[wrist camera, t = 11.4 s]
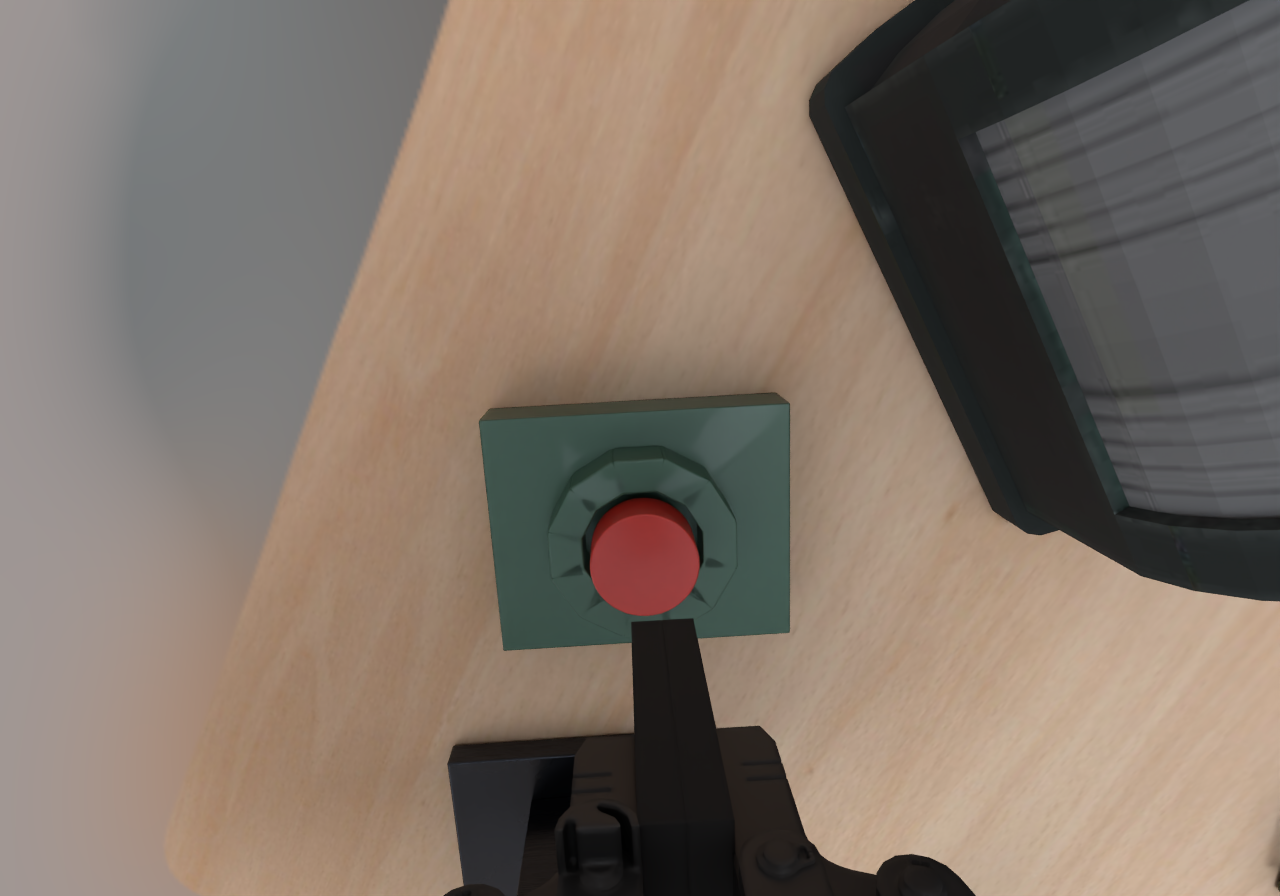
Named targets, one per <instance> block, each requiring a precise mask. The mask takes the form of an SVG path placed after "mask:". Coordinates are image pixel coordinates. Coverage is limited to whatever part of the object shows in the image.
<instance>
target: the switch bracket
mask: <svg viewBox="0 0 1280 896" xmlns="http://www.w3.org/2000/svg"><path fill="white" fill-rule="evenodd" d="M629 735H635V734H625V735H610V736H595V737H579V738H564V739H549V740H534V741H519V742H503V743H488V744H473V745H458V746H453V749H452V752H451V755H450V758H449V761H448V771H449V779H450V786H451V794H452V801H453V808H454V816H455V823H456V831H457V838H458V846H459V853H460V861H461V868H462V876H463V883H464V886H465V885H468V884H486V885H489V886H492V887H495V888H498V889H499V890H500V891H501V892H502V893H503V894H504V895H505V896H520V895H522V894H525V893H528V892H530V891H532V890H534V889H537V888H539V887H540V886H542V885H543V884H545V883H546V882H547V881H549V880H550V879H551V878H552V877H553V876H554V875H555V874H556V872H557V871H558V865H557V854H556V843H555V833H554V830H555V828H556V825H557V822H558V819H559V818H560V817H561V816H562V815H563V814H564V813H565V812H566V811H567V810H568V809H569V808H570V803H571V794H572V781H573V770H574V759H575V754H576V753H577V751H578V750H579V749H580V747H581V746H582V744H583V743H584V741H585V740H586V738H596V737H613V736H629Z"/></svg>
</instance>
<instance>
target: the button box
mask: <svg viewBox="0 0 1280 896" xmlns="http://www.w3.org/2000/svg"><path fill="white" fill-rule="evenodd" d="M479 427H480V436H481V445H482V455H483V464H484V473H485V483H486V492H487V501H488V511H489V520H490V529H491V539H492V548H493V557H494V567H495V576H496V585H497V595H498V604H499V613H500V623H501V632H502V641H503V650H504V651H507V650H523V649H539V648H555V647H571V646H587V645H602V644H618V643H632V634H631V622H636V621H654V620H671V619H688V618H693V619H694V624H695V629H696V634H697V638H713V637H729V636H745V635H761V634H777V633H789V632H790V404H789V403H788V402H787V401H786V400H785V399H783V398H782V397H781V396H780V395H778V394H777V393H762V394H744V395H726V396H708V397H690V398H673V399H655V400H637V401H619V402H601V403H583V404H566V405H548V406H530V407H512V408H494V409H489V410H488V411H487V412H486V413H485V415H484V416H483V417H482V418H481V419H480V421H479ZM635 498H653V499H657V500H661V501H663V502H666V503H668V504H670V505H672V506H673V507H674V508H676V509H677V510H678V511H679V512H680V513H681V514H682V515H683V516H684V517H685V518H686V520H687V521H688V523H689V525H690V527H691V529H692V532H693V535H694V539H695V542H696V546H697V549H698V553H699V559H700V569H699V575H698V578H697V581H696V583H695V586H694V588H693V589H692V591H691V592H690V594H689V595H688V596H687V597H686V598H685V599H684V600H683V601H682V602H681V603H680V604H679V605H677V606H676V607H674V608H672V609H670V610H669V611H666V612H664V613H661V614H657V615H650V616H637V615H631V614H627V613H624V612H622V611H620V610H618V609H616V608H614V607H612V606H611V605H610V604H608V603H607V602H606V601H605V600H604V599H603V598H602V597H601V596H600V594H599V593H598V591H597V590H596V588H595V586H594V584H593V581H592V578H591V573H590V554H591V542H592V536H593V533H594V530H595V528H596V525H597V524H598V522H599V520H600V519H601V518H602V517H603V515H604V514H605V513H606V512H607V511H608V510H610V509H611V508H612V507H614V506H615V505H617V504H619V503H621V502H624V501H626V500H630V499H635Z"/></svg>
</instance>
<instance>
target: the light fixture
mask: <svg viewBox="0 0 1280 896" xmlns="http://www.w3.org/2000/svg"><path fill="white" fill-rule="evenodd" d="M809 115H810V118H811V120H812V122H813V125H814V127H815V129H816V131H817V133H818V135H819V138H820V140H821V142H822V144H823V146H824V148H825V150H826V153H827V155H828V157H829V159H830V161H831V163H832V165H833V168H834V170H835V172H836V174H837V176H838V178H839V181H840V183H841V185H842V187H843V189H844V191H845V193H846V196H847V198H848V200H849V202H850V204H851V206H852V208H853V211H854V213H855V215H856V217H857V219H858V221H859V224H860V226H861V228H862V230H863V232H864V234H865V236H866V239H867V241H868V243H869V245H870V247H871V249H872V251H873V254H874V256H875V258H876V260H877V262H878V264H879V267H880V269H881V271H882V273H883V275H884V277H885V279H886V282H887V284H888V286H889V288H890V290H891V292H892V294H893V297H894V299H895V301H896V303H897V305H898V307H899V310H900V312H901V314H902V316H903V318H904V320H905V322H906V325H907V327H908V329H909V331H910V333H911V335H912V337H913V340H914V342H915V344H916V346H917V348H918V350H919V353H920V355H921V357H922V359H923V361H924V363H925V365H926V368H927V370H928V372H929V374H930V376H931V378H932V380H933V383H934V385H935V387H936V389H937V391H938V393H939V396H940V398H941V400H942V402H943V404H944V406H945V408H946V411H947V413H948V415H949V417H950V419H951V421H952V423H953V426H954V428H955V430H956V432H957V434H958V436H959V439H960V441H961V443H962V445H963V447H964V449H965V451H966V454H967V456H968V458H969V460H970V462H971V464H972V466H973V469H974V471H975V473H976V475H977V477H978V479H979V482H980V484H981V486H982V488H983V490H984V492H985V494H986V497H987V499H988V501H989V503H990V505H991V507H992V509H993V511H995V512H996V513H997V514H999V515H1000V516H1002V517H1003V518H1005V519H1006V520H1008V521H1009V522H1011V523H1012V524H1014V525H1015V526H1017V527H1018V528H1020V529H1021V530H1023V531H1024V532H1026V533H1028V534H1035V535H1044V534H1047V533H1050V532H1054V531H1057V530H1061V531H1063V532H1064V533H1066V534H1068V535H1070V536H1071V537H1073V538H1075V539H1077V540H1078V541H1080V542H1082V543H1084V544H1085V545H1087V546H1089V547H1091V548H1093V549H1094V550H1096V551H1098V552H1100V553H1101V554H1103V555H1105V556H1107V557H1108V558H1110V559H1112V560H1114V561H1115V562H1117V563H1119V564H1121V565H1123V566H1124V567H1126V568H1128V569H1130V570H1131V571H1133V572H1135V573H1137V574H1138V575H1140V576H1143V577H1147V578H1150V579H1154V580H1157V581H1161V582H1165V583H1168V584H1172V585H1175V586H1179V587H1182V588H1186V589H1190V590H1193V591H1199V592H1206V593H1213V594H1220V595H1227V596H1233V597H1240V598H1247V599H1254V600H1261V601H1280V0H915V1H913V2H912V3H911V4H909V5H908V6H907V7H905V8H904V9H903V10H901V11H900V12H899V13H897V14H896V15H895V16H893V17H892V18H891V19H889V20H888V21H887V22H885V23H884V24H883V25H881V26H880V27H879V28H877V29H876V30H875V31H874V32H873V33H872V34H870V35H869V36H868V37H867V38H866V39H865V40H864V41H862V42H861V43H860V44H859V45H858V46H857V47H856V48H855V49H854V50H853V51H852V52H851V53H849V54H848V55H847V56H846V57H845V58H844V59H843V60H842V61H841V62H840V63H839V64H838V65H837V66H836V67H835V68H834V69H833V70H831V71H830V72H829V73H828V74H827V75H826V76H825V77H824V78H823V79H822V80H821V81H820V82H819V83H818V84H817V85H816V86H815V89H814V91H813V93H812V96H811V98H810V100H809Z"/></svg>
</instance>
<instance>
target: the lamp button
mask: <svg viewBox="0 0 1280 896" xmlns="http://www.w3.org/2000/svg"><path fill="white" fill-rule="evenodd" d="M699 569H700V559H699V553H698V549H697V546H696V542H695V539H694V535H693V532H692V529H691V527H690V525H689V523H688V521H687V520H686V518H685V517H684V516H683V515H682V514H681V513H680V512H679V511H678V510H677V509H676V508H674V507H673V506H672V505H670V504H668V503H666V502H663V501H661V500H657V499H653V498H635V499H630V500H626V501H624V502H621V503H619V504H617V505H615V506H614V507H612V508H611V509H610V510H608V511H607V512H606V513H605V514H604V515H603V517H602V518H601V519H600V520H599V522H598V524H597V525H596V528H595V530H594V533H593V536H592V542H591V554H590V573H591V578H592V581H593V584H594V586H595V588H596V590H597V591H598V593H599V594H600V596H601V597H602V598H603V599H604V600H605V601H606V602H607V603H608V604H610V605H611V606H612V607H614V608H616V609H618V610H620V611H622V612H624V613H627V614H631V615H637V616H650V615H657V614H661V613H664V612H666V611H669V610H670V609H672V608H674V607H676V606H677V605H679V604H680V603H681V602H682V601H683V600H684V599H685V598H686V597H687V596H688V595H689V594H690V592H691V591H692V589H693V588H694V586H695V583H696V581H697V578H698V575H699Z"/></svg>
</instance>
